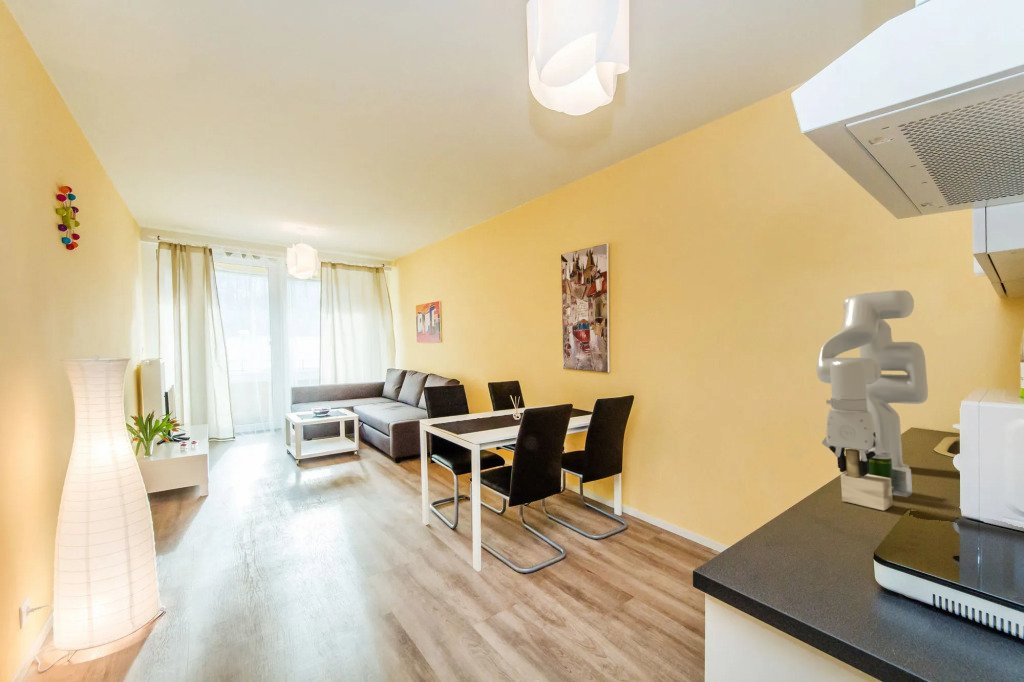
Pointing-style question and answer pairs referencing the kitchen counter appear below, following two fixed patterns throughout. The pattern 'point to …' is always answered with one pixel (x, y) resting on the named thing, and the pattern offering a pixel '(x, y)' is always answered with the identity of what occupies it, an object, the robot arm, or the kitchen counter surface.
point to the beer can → (882, 467)
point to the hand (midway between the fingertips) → (853, 472)
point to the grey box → (902, 481)
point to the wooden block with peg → (864, 485)
